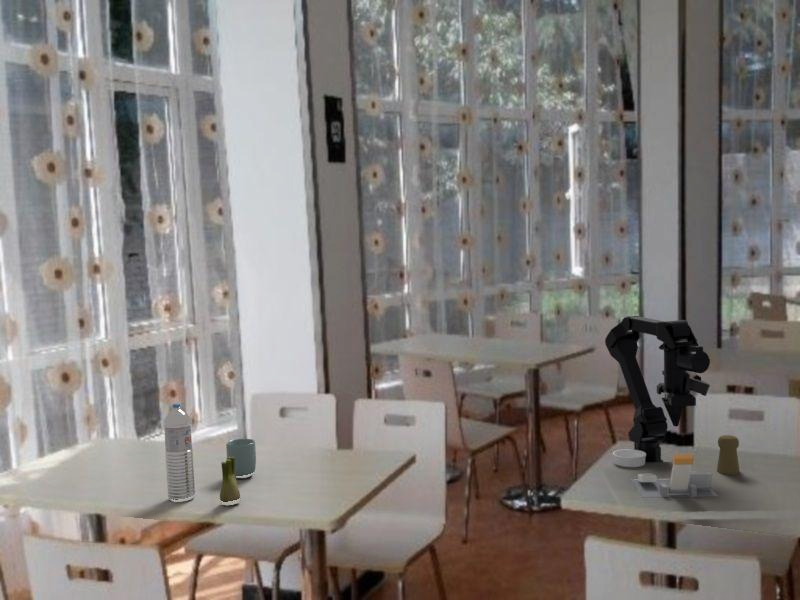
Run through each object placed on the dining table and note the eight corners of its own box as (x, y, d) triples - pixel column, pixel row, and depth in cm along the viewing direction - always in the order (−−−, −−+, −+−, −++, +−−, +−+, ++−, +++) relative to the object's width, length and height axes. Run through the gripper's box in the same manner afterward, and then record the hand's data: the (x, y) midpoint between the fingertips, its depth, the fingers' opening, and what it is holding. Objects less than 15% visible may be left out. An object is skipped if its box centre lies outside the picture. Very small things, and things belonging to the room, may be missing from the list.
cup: (222, 480, 244) (220, 444, 243) (238, 472, 251) (236, 437, 250) (247, 482, 241) (245, 446, 240) (261, 474, 248) (260, 439, 247)
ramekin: (610, 471, 240) (610, 456, 239) (615, 463, 248) (615, 447, 248) (644, 474, 236) (644, 458, 236) (647, 465, 245) (647, 450, 244)
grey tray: (629, 484, 228) (629, 469, 227) (700, 483, 227) (700, 468, 226) (641, 503, 213) (641, 487, 212) (717, 502, 212) (718, 486, 211)
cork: (742, 480, 228) (742, 439, 227) (717, 480, 229) (717, 438, 228) (738, 474, 234) (738, 433, 233) (714, 473, 235) (714, 432, 234)
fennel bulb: (226, 509, 219) (224, 462, 217) (214, 505, 222) (212, 459, 221) (245, 503, 223) (243, 457, 222) (233, 499, 226) (231, 454, 225)
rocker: (638, 480, 225) (637, 473, 225) (652, 480, 225) (652, 473, 225) (642, 482, 220) (641, 475, 220) (656, 481, 220) (656, 474, 220)
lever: (667, 489, 215) (673, 453, 208) (685, 489, 215) (692, 453, 208) (669, 495, 213) (675, 459, 206) (687, 494, 213) (694, 459, 206)
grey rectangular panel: (684, 487, 218) (685, 471, 216) (709, 486, 217) (710, 471, 215) (685, 490, 216) (687, 475, 214) (710, 490, 216) (712, 474, 214)
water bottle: (181, 504, 223) (175, 407, 221) (162, 501, 227) (156, 405, 225) (200, 497, 229) (195, 402, 227) (182, 493, 233) (176, 400, 230)
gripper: (716, 373, 223) (716, 434, 224) (697, 361, 241) (697, 417, 243) (671, 374, 224) (671, 434, 225) (655, 362, 242) (656, 418, 244)
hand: (675, 426), depth 234 cm, fingers closed
